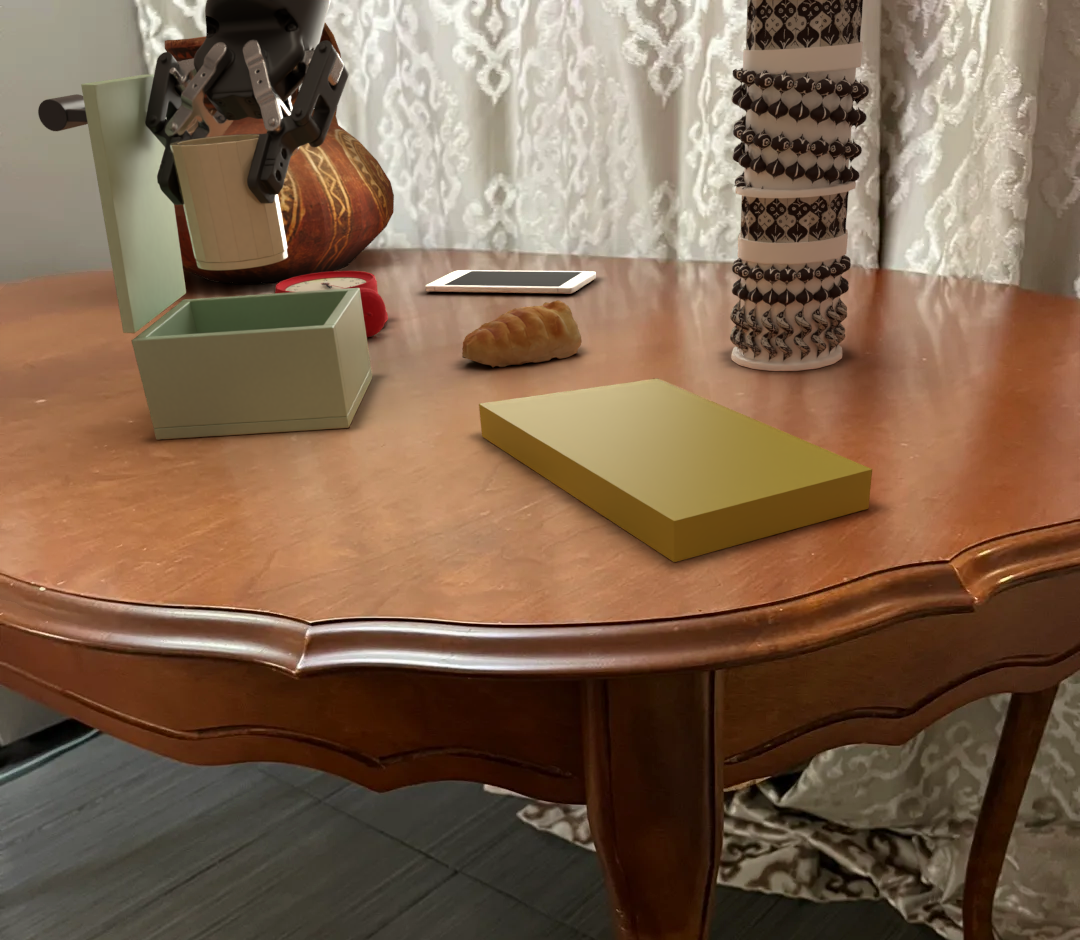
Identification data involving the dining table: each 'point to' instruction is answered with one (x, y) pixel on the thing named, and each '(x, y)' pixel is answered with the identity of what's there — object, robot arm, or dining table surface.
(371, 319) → the alarm clock
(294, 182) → the jug
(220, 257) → the tan cup
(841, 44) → the bracelet display stand
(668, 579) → the dining table surface
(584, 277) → the cell phone
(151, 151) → the box lid
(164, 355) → the open hinged lid box
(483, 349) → the pastry
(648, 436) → the flat olive board
